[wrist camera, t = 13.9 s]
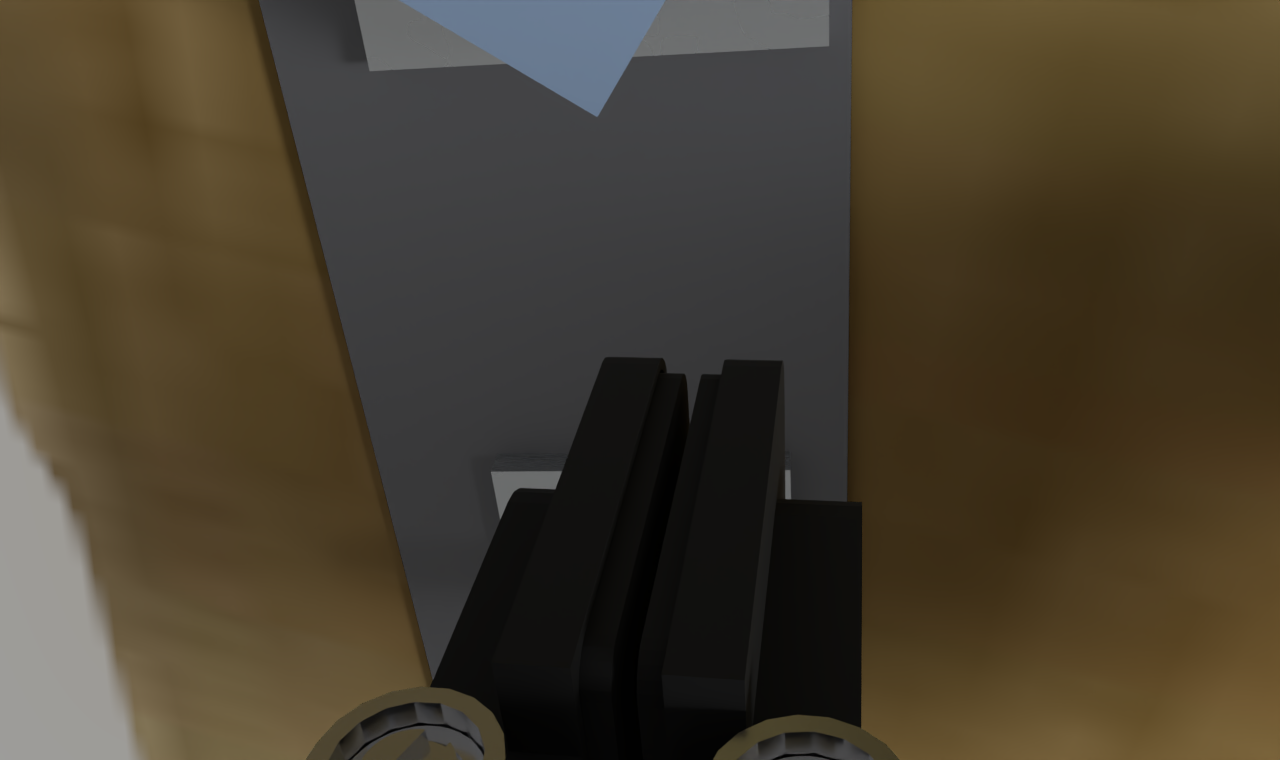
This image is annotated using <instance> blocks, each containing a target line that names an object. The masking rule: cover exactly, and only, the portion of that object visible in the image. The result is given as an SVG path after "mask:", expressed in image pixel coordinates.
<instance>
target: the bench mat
mask: <svg viewBox="0 0 1280 760" xmlns="http://www.w3.org/2000/svg"><path fill="white" fill-rule="evenodd" d="M259 3H260V7H261V11H262V15H263V19H264V23H265V27H266V30H267V34H268V38H269V42H270V46H271V50H272V54H273V58H274V62H275V66H276V70H277V73H278V77H279V81H280V85H281V89H282V93H283V97H284V101H285V105H286V109H287V113H288V116H289V120H290V124H291V128H292V132H293V136H294V140H295V144H296V148H297V152H298V155H299V159H300V163H301V167H302V171H303V175H304V179H305V183H306V187H307V191H308V195H309V198H310V202H311V206H312V210H313V214H314V218H315V222H316V226H317V230H318V234H319V238H320V241H321V245H322V249H323V253H324V257H325V261H326V265H327V269H328V273H329V277H330V280H331V284H332V288H333V292H334V296H335V300H336V304H337V308H338V312H339V316H340V320H341V323H342V327H343V331H344V335H345V339H346V343H347V347H348V351H349V355H350V359H351V363H352V366H353V370H354V374H355V378H356V382H357V386H358V390H359V394H360V398H361V402H362V405H363V409H364V413H365V417H366V421H367V425H368V429H369V433H370V437H371V441H372V445H373V448H374V452H375V456H376V460H377V464H378V468H379V472H380V476H381V480H382V484H383V488H384V491H385V495H386V499H387V503H388V507H389V511H390V515H391V519H392V523H393V527H394V530H395V534H396V538H397V542H398V546H399V550H400V554H401V558H402V562H403V566H404V570H405V573H406V577H407V581H408V585H409V589H410V593H411V597H412V601H413V605H414V609H415V613H416V616H417V620H418V624H419V628H420V632H421V636H422V640H423V644H424V648H425V652H426V655H427V659H428V663H429V667H430V671H431V675H432V679H434V677H435V674H436V672H437V669H438V667H439V665H440V662H441V660H442V658H443V655H444V653H445V650H446V648H447V646H448V643H449V641H450V638H451V636H452V634H453V631H454V629H455V627H456V624H457V622H458V619H459V617H460V615H461V612H462V610H463V608H464V605H465V603H466V600H467V598H468V596H469V593H470V591H471V588H472V586H473V584H474V581H475V579H476V577H477V574H478V572H479V569H480V567H481V565H482V562H483V560H484V557H485V555H486V553H487V550H488V548H489V546H490V543H491V541H492V538H493V536H494V534H495V531H496V529H497V526H498V524H499V522H500V516H499V511H498V506H497V501H496V496H495V490H494V485H493V480H492V475H491V470H492V467H493V464H494V462H495V459H496V456H497V454H569V451H570V448H571V446H572V443H573V440H574V437H575V435H576V432H577V429H578V427H579V424H580V421H581V419H582V416H583V413H584V410H585V408H586V405H587V402H588V400H589V397H590V394H591V391H592V389H593V386H594V383H595V381H596V378H597V375H598V372H599V370H600V367H601V364H602V362H603V360H604V358H605V357H643V358H663V359H664V361H665V364H666V369H667V373H684V374H685V375H686V379H687V388H688V403H689V420H690V422H691V417H692V413H693V408H694V404H695V400H696V395H697V391H698V386H699V382H700V378H701V375H702V374H721V373H722V368H723V364H724V360H726V359H737V360H783V363H784V387H785V452H790V464H791V499H797V500H820V501H844V502H847V455H848V355H849V256H850V156H851V57H852V0H829V46H823V47H805V48H787V49H768V50H750V51H732V52H713V53H695V54H677V55H658V56H640V57H632V59H631V60H630V62H629V64H628V65H627V67H626V69H625V71H624V72H623V74H622V76H621V77H620V79H619V81H618V83H617V84H616V86H615V88H614V89H613V91H612V93H611V95H610V96H609V98H608V100H607V101H606V103H605V105H604V107H603V108H602V110H601V112H600V113H599V115H598V117H596V116H594V115H593V114H591V113H589V112H588V111H586V110H584V109H583V108H581V107H579V106H577V105H576V104H574V103H572V102H571V101H569V100H567V99H566V98H564V97H562V96H561V95H559V94H557V93H555V92H554V91H552V90H550V89H549V88H547V87H545V86H544V85H542V84H540V83H538V82H537V81H535V80H533V79H532V78H530V77H528V76H527V75H525V74H523V73H522V72H520V71H518V70H516V69H515V68H513V67H511V66H510V65H508V64H493V65H475V66H457V67H438V68H420V69H402V70H383V71H369V66H368V61H367V57H366V52H365V47H364V43H363V38H362V33H361V29H360V24H359V19H358V14H357V10H356V5H355V0H259Z"/></svg>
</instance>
